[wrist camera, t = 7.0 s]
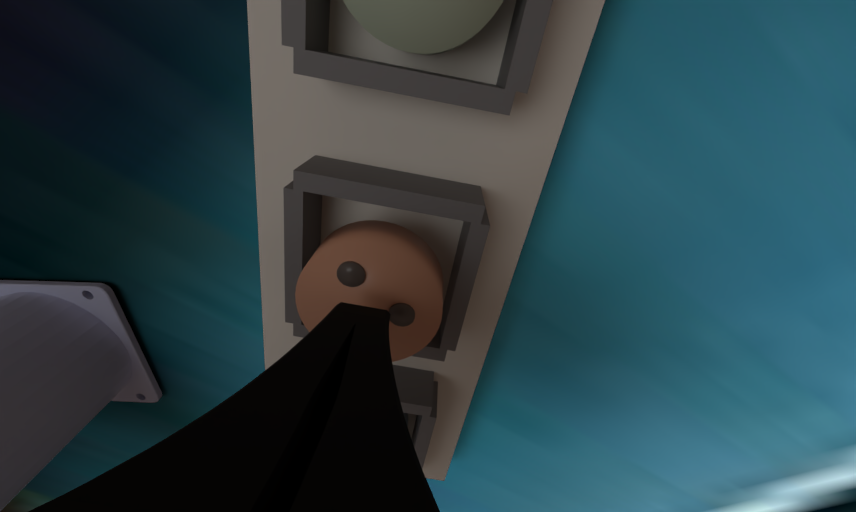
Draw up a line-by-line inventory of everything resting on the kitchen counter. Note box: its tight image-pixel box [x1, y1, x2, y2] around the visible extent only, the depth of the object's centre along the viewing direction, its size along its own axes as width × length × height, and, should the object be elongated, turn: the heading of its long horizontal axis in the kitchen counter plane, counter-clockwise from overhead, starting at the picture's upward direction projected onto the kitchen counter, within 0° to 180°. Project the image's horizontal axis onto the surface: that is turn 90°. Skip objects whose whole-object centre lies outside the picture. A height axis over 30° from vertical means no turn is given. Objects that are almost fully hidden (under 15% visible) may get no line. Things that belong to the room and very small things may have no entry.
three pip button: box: [295, 220, 443, 362], centre depth 12 cm, size 4×4×2 cm
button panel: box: [247, 0, 605, 481], centre depth 14 cm, size 28×10×4 cm, turn 170°
